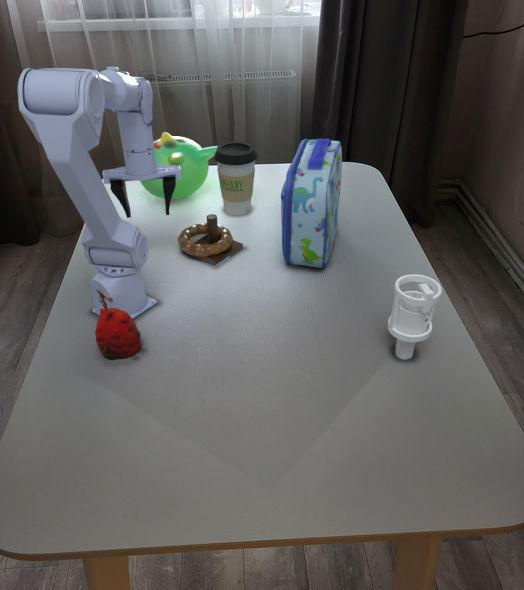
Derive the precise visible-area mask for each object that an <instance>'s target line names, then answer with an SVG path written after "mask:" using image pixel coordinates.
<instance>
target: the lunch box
mask: <svg viewBox="0 0 524 590" xmlns="http://www.w3.org/2000/svg"><path fill="white" fill-rule="evenodd" d="M342 168H343V150H342V143H341V141H339V140H331V139H330V138H316V139H309V138H304V139H303V140H301V142H300V144H299V145H298V148H297V150H296V153H295V155H294V157H293V159H292V162H291V163H290V165H289V167H288V169H287V171H286V175H285V181H284V183H283V185H282V189H281V193H280V213H281V214H280V216H281V217H280V218H281V250H282V257H283V260H284V263H285V264H286V266H290V265H298V266H299V265H300V266H301V265H302V266H307V267H313V268H318V269H322V268H325V267H326V266H327V264H328V261H329V260H330V256H331V253H332V248H333V245H334V241H335V237H336V234H337V229H338V217H339V215H338V213H339V204H340V198H341V186H342V173H343V172H342V171H343V169H342Z"/></svg>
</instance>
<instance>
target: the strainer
mask: <svg viewBox="0 0 524 590" xmlns="http://www.w3.org/2000/svg"><path fill="white" fill-rule="evenodd" d="M412 282H413V283H419V284H418V285H417V288H418V289H419V290H420V291H416V290H407V291H402V290H401V288H400V286H401V285H403V284H406V283H412ZM430 287H431V288H430ZM393 288H394V289H393V292H394V297H393V304H392V309H391V315H390V316H389V318H388V321H387V331H388V332H389V333H390V334H391V335H392V337H394V338H396V344H395V349H394V355H395V357H397V358H398V359H399V360H400V359H401V360H410V359H412V357H413V355H414V351H415V346H416V343H420V342H423V341H426V340H427V339H428V338H430V336H431V334H432V331H433V323H432V320H433V316H434V312H435V308H436V303H438V302H439V300H440V299H441V295H442V286H441V285H440V283H439V282H438V281H437V280H436V279H434V278H433V277H430V276H427V275H423V274H418V273H417V274H415V273H413V274H412V273H411V274H404V275H402V276H400V277H398V278H397V280H396V281H395V284H394V287H393Z"/></svg>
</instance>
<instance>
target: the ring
mask: <svg viewBox="0 0 524 590" xmlns="http://www.w3.org/2000/svg"><path fill="white" fill-rule="evenodd" d="M207 234H208V230H207V222H202V223H196V224H193V225H190V226H188V227H185V228H184V229H183V230H182V231H181V232H180V233H179V235H178V236H177V243H178V247H179V248H180V250H181V251H183V252H184V253H185V252H186V253H188V254H187V255H189V254H190V255H189V256H191V255H194V256H201V257H206V256H214V255H218V254H220V253H222V252H224V251H226V250H228V248H229V247H230V245H231V244H232V242H233V240H234V238H233V235H232V233H231V231H230V229H228V228H227V227H225V226H223V225H221V224H219V223H218V237H220V238H221V240H220V241H218V242H216V243H214V244H208V245H199V244H194V242H192V241H191V239H193V238H195V237H198V236H202V235H204V236H205V235H207ZM186 253H185V254H186Z"/></svg>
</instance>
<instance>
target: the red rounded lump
mask: <svg viewBox="0 0 524 590" xmlns="http://www.w3.org/2000/svg"><path fill="white" fill-rule="evenodd" d="M97 292H98V293H99V295H100V297H101V299H102V301H103V304H102V307H103V309H102V310H101V311H100V316H99V317H98V320H97V322H96V327H95V330H94V335H95V341H96V344H97V346H98V348H99V351H100V353H101V354H102V356H103V358H104V359H106V360H109V361H116V360H117V361H118V360H125V359H129V358H132V357H134V356H136V354H137V353H138V352H140V351H141V350H142V342H141V332H140V331H139V329H138V326H137V324H136V322H135V320H134V319H133V318H131V317H130V316H129V314H128V313H127V312H125V311H122V310H120V309H118V308H109V309H108V308H107V303H106V302H105V299H104V298H106V299H108V301H109V302H110V303H113V299H112V298H108V297H106V296H105V295H104V294H103V293H102V292H101V287H100V292H99V291H98V290H97ZM100 297H99V299H100ZM99 299H98V300H99Z"/></svg>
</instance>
